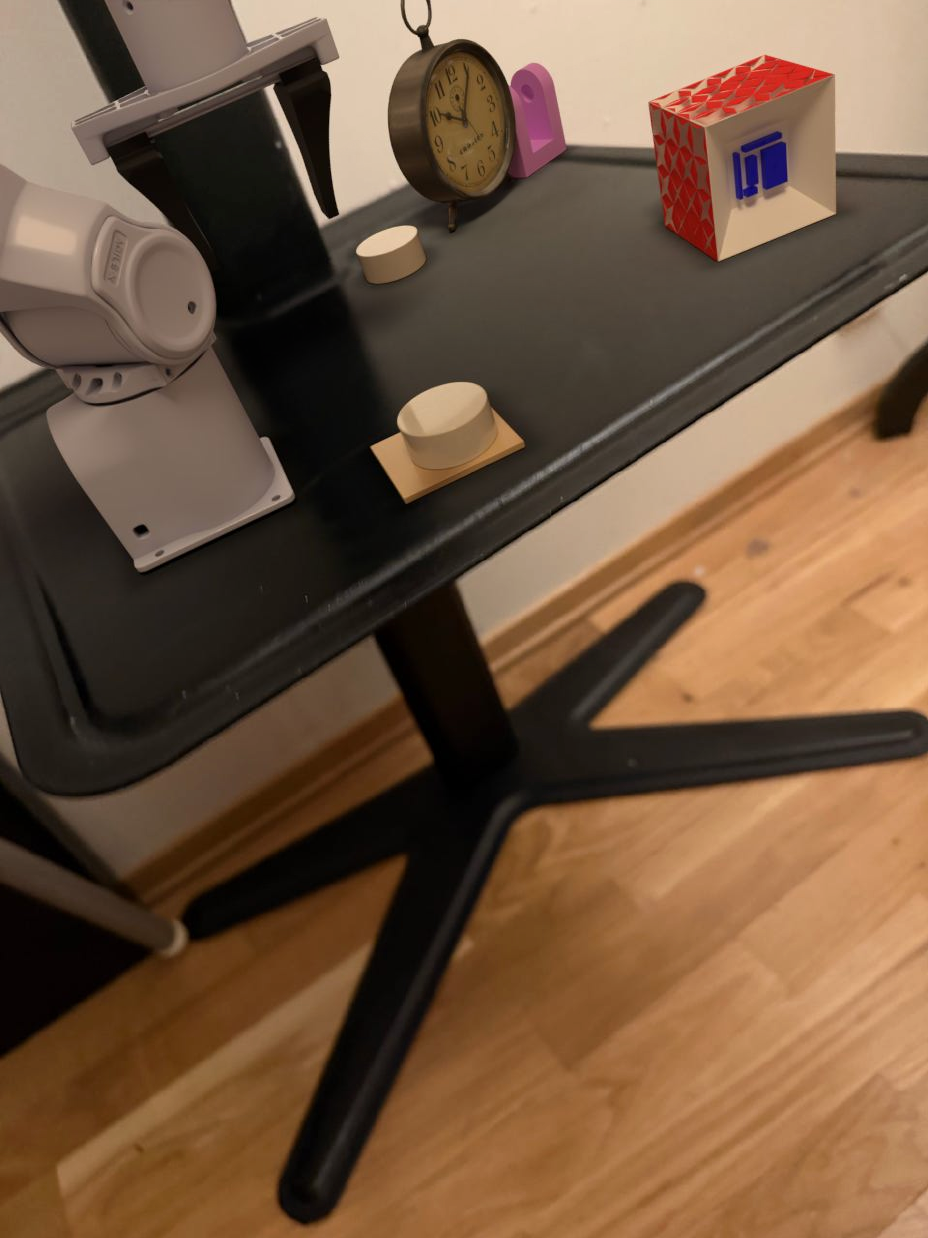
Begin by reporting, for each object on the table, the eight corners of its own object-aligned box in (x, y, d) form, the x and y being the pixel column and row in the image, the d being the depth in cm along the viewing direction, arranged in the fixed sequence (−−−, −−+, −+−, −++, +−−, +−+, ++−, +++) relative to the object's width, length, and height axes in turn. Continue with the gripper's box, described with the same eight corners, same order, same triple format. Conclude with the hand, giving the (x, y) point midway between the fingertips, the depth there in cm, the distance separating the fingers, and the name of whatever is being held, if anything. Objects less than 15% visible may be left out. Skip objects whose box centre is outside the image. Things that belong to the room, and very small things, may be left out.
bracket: (566, 148, 79) (549, 60, 74) (526, 177, 76) (506, 88, 72) (463, 150, 87) (442, 71, 82) (424, 176, 85) (400, 96, 80)
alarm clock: (458, 239, 71) (388, 2, 60) (409, 238, 74) (334, 14, 63) (534, 177, 76) (482, -52, 65) (485, 179, 79) (428, -38, 68)
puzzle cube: (772, 182, 62) (765, 54, 56) (836, 213, 56) (835, 73, 50) (663, 226, 62) (646, 102, 56) (716, 262, 56) (703, 127, 50)
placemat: (406, 504, 47) (403, 498, 46) (372, 451, 51) (369, 446, 51) (525, 447, 47) (523, 440, 47) (481, 400, 52) (479, 394, 52)
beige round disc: (376, 290, 68) (365, 262, 67) (358, 272, 72) (348, 245, 71) (435, 263, 69) (426, 235, 67) (414, 246, 72) (405, 219, 71)
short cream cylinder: (427, 482, 47) (413, 447, 45) (398, 442, 50) (384, 409, 49) (512, 441, 47) (501, 405, 46) (477, 404, 51) (466, 370, 49)
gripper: (273, -83, 48) (364, 176, 57) (20, 23, 47) (154, 270, 56) (300, -85, 43) (396, 201, 52) (17, 35, 42) (165, 305, 51)
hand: (272, 239), depth 53 cm, fingers open, 7 cm apart
